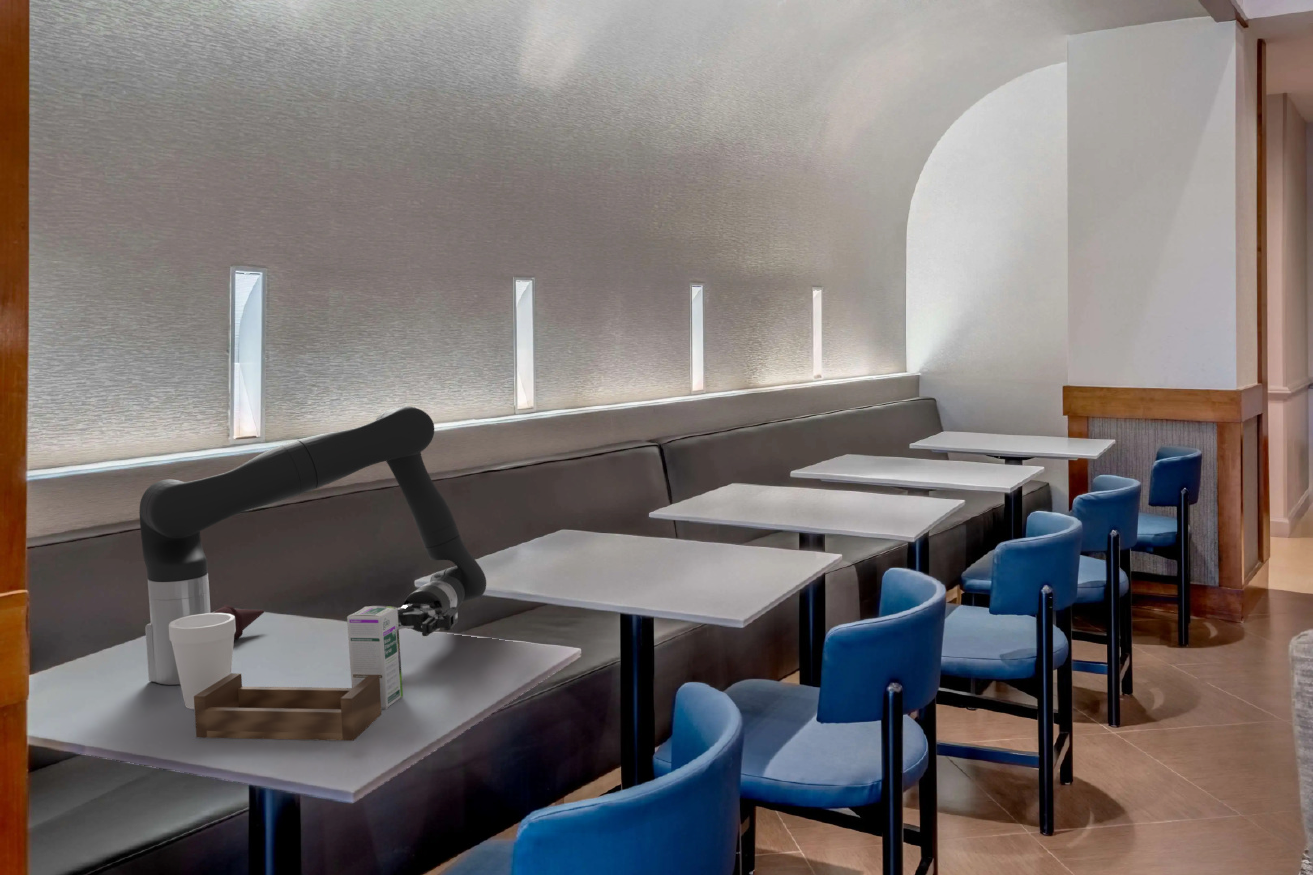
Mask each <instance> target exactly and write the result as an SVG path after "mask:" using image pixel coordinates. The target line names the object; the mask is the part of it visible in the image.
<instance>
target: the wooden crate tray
mask: <svg viewBox="0 0 1313 875" xmlns="http://www.w3.org/2000/svg"><path fill="white" fill-rule="evenodd" d="M242 679H243V678H242V673H240V672H239V673H238V672H237V673H234V672H233V673H232V672H231V674H229V675H228V676H226V677H225V678H223V679H221V680H220V681H218V682H216V683H215V684H213V685H211V686H210V687H208V688H206V689H205V690H203V691H202V692H200V693H198V694H197V695H195V696H194V708H195V709H194V719H195V735H196V736H195V738H196V737H202V738H206V737H207V738H206V739H211V738H212V739H248V740H250V739H253V740H255V739H257V740H258V739H260V740H298V741H299V740H301V741H302V740H304V741H305V740H307V741H309V740H311V741H350V742H351V741H355V740H356V739H357V738H358V737H359V736H360V735H361V734H362V733H364V732H365V731H366V730H367V729H368V728H369V726H371V725H372V724H373V723H374V722H375V721H376V720H377V719H378V718H379V717H380V716H381V715H382V709H381V698H380V677H379V675H368V676H367V677H366V678H365V679H364V680H362V681H361V682H360V683H359V684H357V685H356V686H355V687H354V688H352V687H319V686H318V687H315V686H314V687H312V686H311V687H310V686H309V687H308V686H307V687H304V686H303V687H302V686H299V687H298V686H243V680H242ZM208 737H209V738H208Z"/></svg>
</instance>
